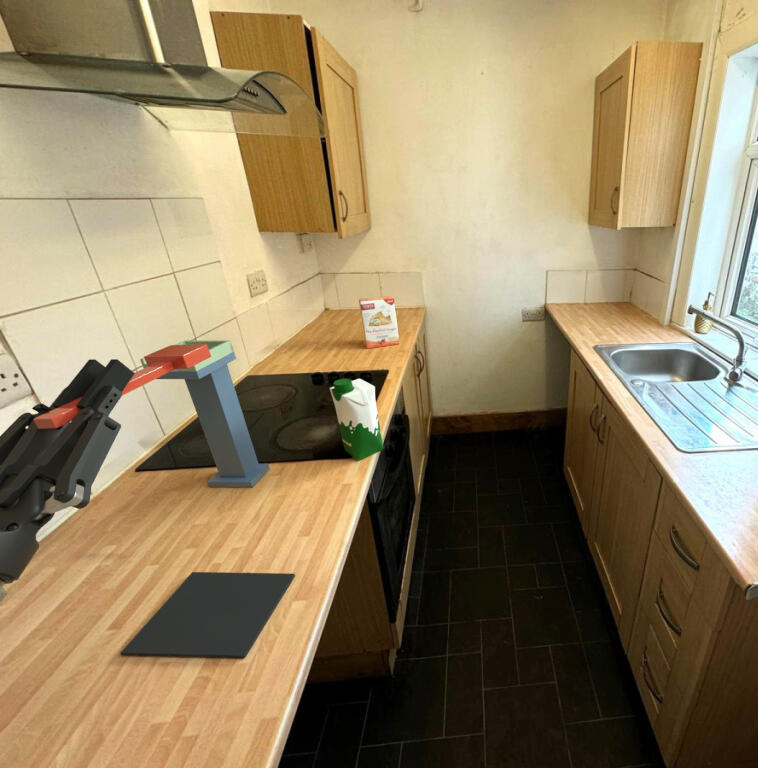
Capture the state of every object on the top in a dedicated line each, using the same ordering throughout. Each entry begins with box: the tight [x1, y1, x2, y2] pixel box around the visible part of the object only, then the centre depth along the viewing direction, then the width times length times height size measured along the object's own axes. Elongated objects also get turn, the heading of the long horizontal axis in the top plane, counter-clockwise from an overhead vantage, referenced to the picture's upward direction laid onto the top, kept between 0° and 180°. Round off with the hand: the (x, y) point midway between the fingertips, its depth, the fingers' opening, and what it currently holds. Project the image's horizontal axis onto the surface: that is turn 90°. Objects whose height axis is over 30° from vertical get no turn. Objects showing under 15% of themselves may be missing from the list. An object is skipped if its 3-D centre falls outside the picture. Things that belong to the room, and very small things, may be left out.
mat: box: [120, 571, 296, 659], centre depth 65 cm, size 18×14×1 cm
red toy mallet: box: [33, 344, 211, 429], centre depth 52 cm, size 6×21×2 cm, turn 178°
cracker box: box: [358, 295, 400, 349], centre depth 180 cm, size 14×6×21 cm, turn 115°
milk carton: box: [329, 378, 384, 462], centre depth 103 cm, size 9×9×20 cm
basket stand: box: [139, 339, 271, 489], centre depth 88 cm, size 10×11×32 cm
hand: (112, 366), depth 50 cm, fingers closed on red toy mallet, 2 cm apart
